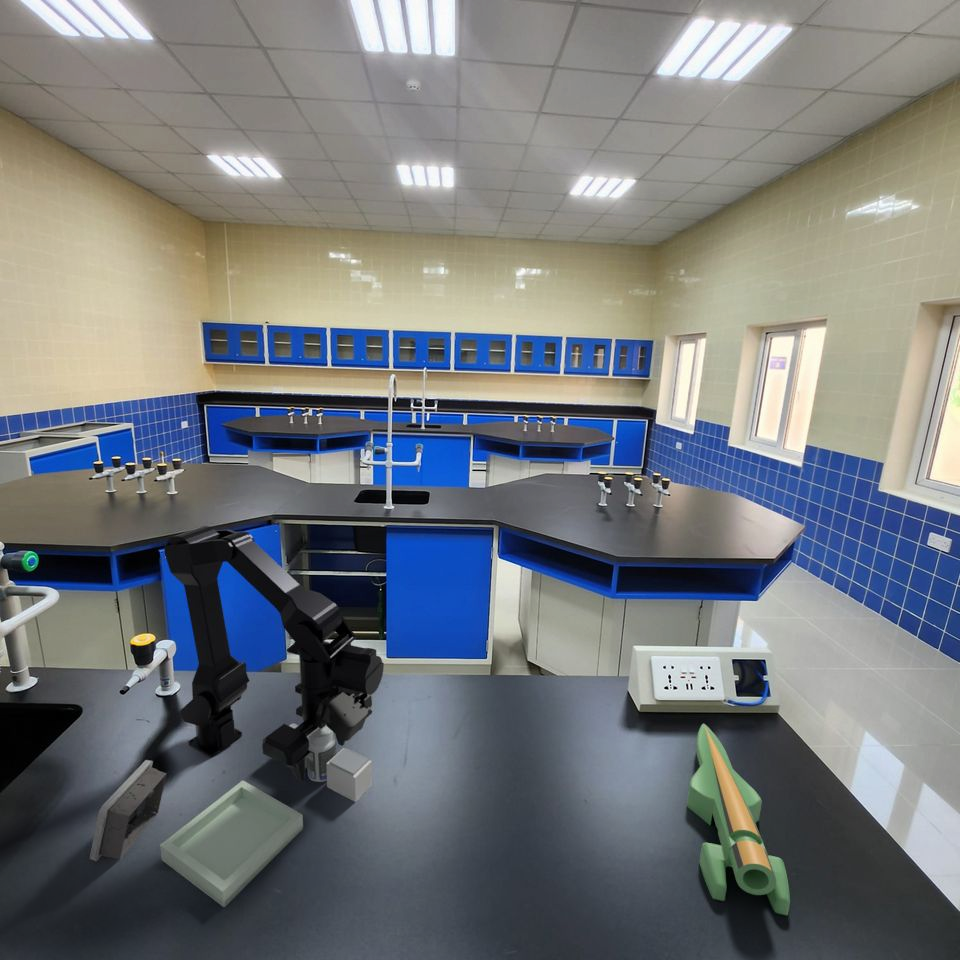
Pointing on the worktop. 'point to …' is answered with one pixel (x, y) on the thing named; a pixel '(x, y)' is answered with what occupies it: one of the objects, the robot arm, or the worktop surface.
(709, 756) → the green toy rocket
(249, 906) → the worktop surface
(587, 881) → the worktop surface
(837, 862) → the worktop surface
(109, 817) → the electrical switch
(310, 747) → the pill bottle
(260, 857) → the tray
